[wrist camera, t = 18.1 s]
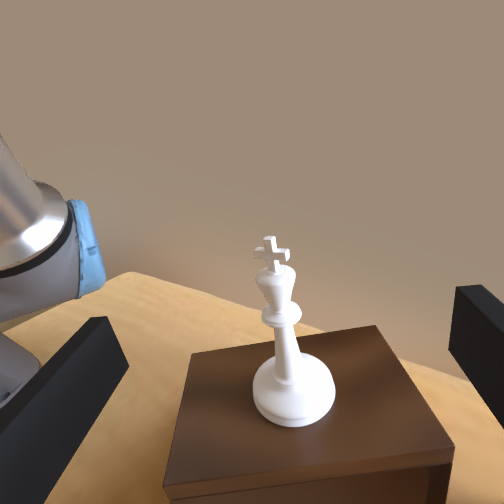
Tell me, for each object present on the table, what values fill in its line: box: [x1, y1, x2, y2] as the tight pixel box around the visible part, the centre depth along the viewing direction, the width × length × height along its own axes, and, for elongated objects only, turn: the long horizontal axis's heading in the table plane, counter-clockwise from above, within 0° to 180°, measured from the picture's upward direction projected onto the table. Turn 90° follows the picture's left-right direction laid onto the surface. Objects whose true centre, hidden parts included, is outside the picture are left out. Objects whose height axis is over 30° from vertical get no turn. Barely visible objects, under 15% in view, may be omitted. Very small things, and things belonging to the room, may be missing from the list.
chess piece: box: [253, 236, 335, 427], centre depth 16 cm, size 5×5×10 cm
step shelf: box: [163, 325, 455, 504], centre depth 23 cm, size 14×14×12 cm
